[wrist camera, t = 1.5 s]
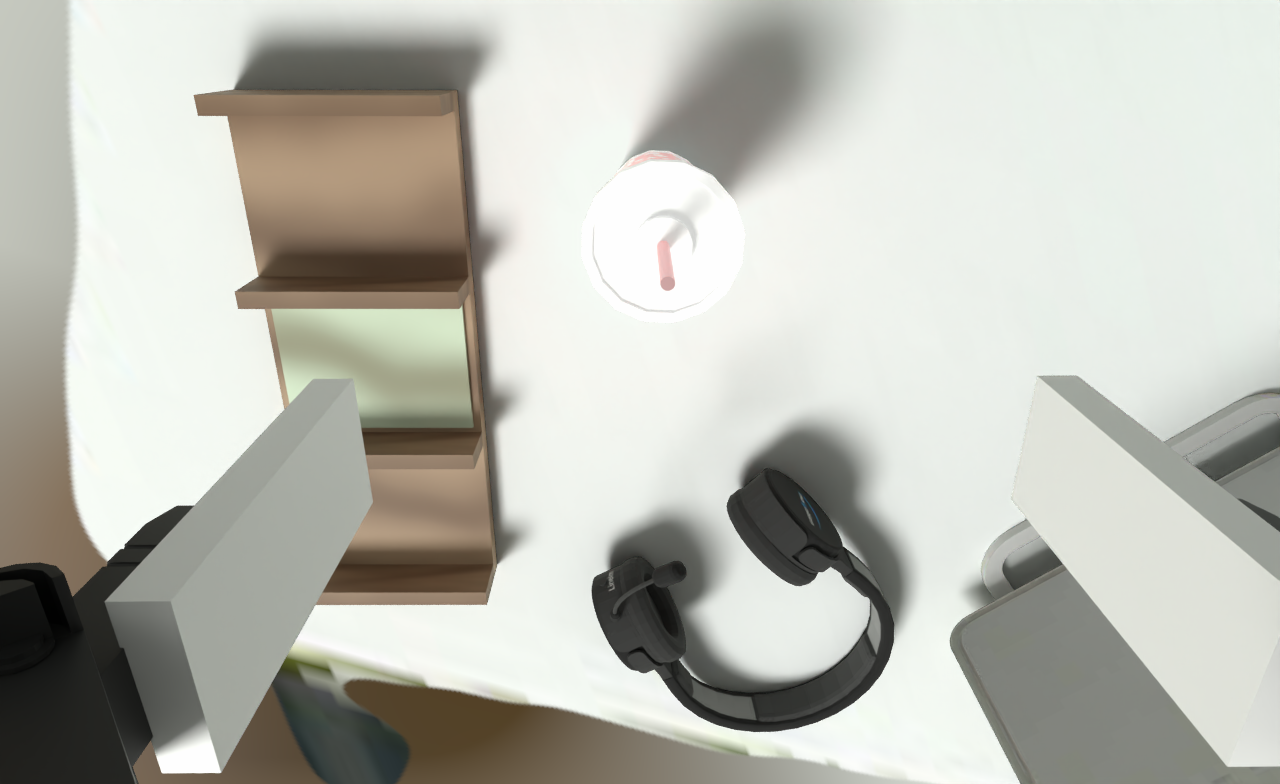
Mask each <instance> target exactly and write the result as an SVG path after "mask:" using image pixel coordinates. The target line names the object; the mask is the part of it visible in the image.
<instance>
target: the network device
mask: <svg viewBox="0 0 1280 784" xmlns="http://www.w3.org/2000/svg"><path fill="white" fill-rule="evenodd" d="M1266 413H1275V414H1277V415H1278V417H1279V419H1280V394H1275V393H1264V394H1256V395H1253V396H1249V397H1246V398H1243V399H1241V400H1239V401H1237V402H1235V403H1233V404H1231V405H1229V406H1227V407H1226V408H1224V409H1222V410H1220V411H1219V412H1217V413H1215V414H1213V415H1212V416H1210V417H1208V418H1206V419H1204V420H1203V421H1201V422H1199V423H1197V424H1196V425H1194V426H1192V427H1190V428H1188V429H1187V430H1185V431H1183V432H1181V433H1180V434H1178V435H1176V436H1174V437H1172V438H1171V439H1169V440H1167V441H1165V442H1164V443H1165V444H1166V445H1168V446H1169V447H1170V448H1171V449H1173V450H1174V451H1175V452H1177V453H1178V454H1179V455H1181V456H1182V457H1185V456H1186V455H1188V454H1190V453H1192V452H1194V451H1195V450H1197V449H1199V448H1201V447H1203V446H1204V445H1206V444H1208V443H1210V442H1212V441H1213V440H1215V439H1217V438H1219V437H1221V436H1222V435H1224V434H1226V433H1228V432H1230V431H1231V430H1233V429H1235V428H1237V427H1239V426H1240V425H1242V424H1244V423H1246V422H1248V421H1249V420H1251V419H1253V418H1255V417H1257V416H1259V415H1262V414H1266ZM1215 482H1216V483H1217V484H1218V485H1219V486H1221V487H1222V488H1223V489H1225V490H1226V491H1227V492H1228V493H1230V494H1231V495H1232V496H1234V497H1235V498H1236V499H1243V500H1245V501H1247V502H1249V503H1251V504H1253V505H1255V506H1257V507H1259V508H1262V509H1264V510H1266V511H1268V512H1270V513H1272V514H1274V515H1276V516H1278V517H1279V518H1280V446H1279V447H1278V448H1276V449H1274V450H1272V451H1270V452H1268V453H1266V454H1265V455H1263V456H1261V457H1259V458H1257V459H1255V460H1254V461H1252V462H1250V463H1248V464H1246V465H1244V466H1243V467H1241V468H1239V469H1237V470H1235V471H1233V472H1231V473H1230V474H1228V475H1226V476H1224V477H1222V478H1220V479H1219V480H1217V481H1215ZM1039 537H1041V536H1040V535H1039V534H1038V532H1037V531H1036V530H1035V529H1034V527H1033V526H1032V525H1031V524H1030V522H1029V521H1028V520H1025V521H1023V522H1022V523H1020V524H1018V525H1016V526H1015V527H1013V528H1011V529H1009V530H1008V531H1006V532H1005V533H1003V534H1002V535H1000V536H999V537H998V538H997V539H996V540H995V541H994V542H993V543H992V544H991V545H990V547H989V548H988V550H987V551H986V553H985V556H984V558H983V561H982V567H981V574H982V579H983V582H984V584H985V586H986V588H987V589H988V591H989V592H990V594H991V595H992V597H993V598H994V599H995V601H994V602H992V603H990V604H988V605H986V606H985V607H983V608H981V609H979V610H977V611H975V612H974V613H972V614H970V615H968V616H966V617H965V618H963V619H962V620H961V621H960V622H959V623H958V624H957V625H956V626H955V628H954V629H953V631H952V633H951V637H950V646H951V649H952V651H953V653H954V655H955V657H956V659H957V661H958V663H959V665H960V667H961V669H962V671H963V673H964V675H965V677H966V679H967V681H968V682H969V684H970V686H971V688H972V690H973V692H974V694H975V696H976V698H977V700H978V702H979V704H980V706H981V708H982V710H983V712H984V714H985V716H986V717H987V719H988V721H989V723H990V725H991V727H992V729H993V731H994V733H995V735H996V737H997V739H998V741H999V743H1000V745H1001V747H1002V749H1003V751H1004V752H1005V754H1006V756H1007V758H1008V760H1009V762H1010V764H1011V766H1012V768H1013V770H1014V772H1015V774H1016V776H1017V778H1018V780H1019V782H1020V784H1280V766H1267V767H1227V766H1226V765H1225V763H1224V762H1223V761H1222V760H1221V759H1220V757H1219V756H1218V755H1217V754H1216V752H1215V751H1214V750H1213V749H1212V747H1211V746H1210V745H1209V744H1208V742H1207V741H1206V740H1205V739H1204V737H1203V736H1202V735H1201V734H1200V733H1199V731H1198V730H1197V729H1196V728H1195V726H1194V725H1193V724H1192V723H1191V721H1190V720H1189V719H1188V718H1187V716H1186V715H1185V714H1184V713H1183V712H1182V710H1181V709H1180V708H1179V707H1178V705H1177V704H1176V703H1175V702H1174V700H1173V699H1172V698H1171V697H1170V695H1169V694H1168V693H1167V692H1166V691H1165V689H1164V688H1163V687H1162V686H1161V684H1160V683H1159V682H1158V681H1157V679H1156V678H1155V677H1154V676H1153V674H1152V673H1151V672H1150V671H1149V669H1148V668H1147V667H1146V666H1145V665H1144V663H1143V662H1142V661H1141V660H1140V658H1139V657H1138V656H1137V655H1136V653H1135V652H1134V651H1133V650H1132V648H1131V647H1130V646H1129V645H1128V644H1127V642H1126V641H1125V640H1124V639H1123V637H1122V636H1121V635H1120V634H1119V632H1118V631H1117V630H1116V629H1115V627H1114V626H1113V625H1112V624H1111V623H1110V621H1109V620H1108V619H1107V618H1106V616H1105V615H1104V614H1103V613H1102V611H1101V610H1100V609H1099V608H1098V606H1097V605H1096V604H1095V603H1094V602H1093V600H1092V599H1091V598H1090V597H1089V595H1088V594H1087V593H1086V592H1085V590H1084V589H1083V588H1082V587H1081V585H1080V584H1079V583H1078V582H1077V580H1076V579H1075V578H1074V577H1073V576H1072V574H1071V573H1070V572H1069V571H1068V569H1067V568H1066V567H1065V566H1064V564H1062V565H1060V566H1058V567H1056V568H1055V569H1053V570H1051V571H1049V572H1047V573H1045V574H1044V575H1042V576H1040V577H1038V578H1036V579H1034V580H1033V581H1031V582H1029V583H1027V584H1025V585H1023V586H1021V587H1020V588H1018V589H1016V590H1014V589H1013V588H1012V586H1011V585H1010V583H1009V582H1008V580H1007V579H1006V578H1005V576H1004V574H1003V571H1002V567H1003V563H1004V561H1005V559H1006V558H1007V557H1008V556H1009V555H1010V554H1011V553H1012V552H1014V551H1015V550H1017V549H1019V548H1021V547H1023V546H1024V545H1026V544H1028V543H1030V542H1032V541H1033V540H1035V539H1037V538H1039Z"/></svg>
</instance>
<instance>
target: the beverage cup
mask: <svg viewBox="0 0 1280 784" xmlns="http://www.w3.org/2000/svg"><path fill="white" fill-rule="evenodd" d="M744 240H745V230H744V227H743V224H742V221H741V218H740V215H739V211H738V208H737V205H736V202H735V200H734V199H733V198H732V197H731V196H730V194H729V193H728V192H727V191H726V190H725V189H724V188H723V186H722V185H721V184H720V183H719V182H718V181H717V179H716V178H715V177H714V176H713V175H712V174H710V173H708V172H706V171H704V170H702V169H700V168H698V167H696V166H693V165H692V164H691V163H690V162H689V161H688V160H687V159H685V158H683V157H681V156H679V155H676V154H674V153H672V152H670V151H656V150H649V151H647V152H644V153H641V154H639V155H636V156H633V157H631V158H630V159H629V160H628V161H627V162H626V163H625V164H624V165H623V166H622V167H621V168H620V169H619V170H618V171H617V172H616V174H615V176H614V177H613V178H612V179H611V180H610V181H609V182H607V183H606V184H605V185H604V186H603V187H602V188H601V189H600V190H599V191H598V192H597V193H596V195H595V197H594V199H593V202H592V204H591V206H590V208H589V211H588V213H587V215H586V218H585V220H584V222H583V225H582V260H583V262H584V265H585V267H586V270H587V272H588V275H589V277H590V280H591V282H592V285H593V287H594V288H595V289H596V290H597V291H598V292H599V293H600V294H601V295H602V296H603V297H604V298H605V299H606V300H607V301H608V302H609V303H610V304H611V305H612V306H613V307H614V309H616V310H618V311H620V312H623V313H625V314H627V315H630V316H632V317H634V318H636V319H639V320H641V321H643V322H668V323H675V322H678V321H681V320H684V319H687V318H689V317H692V316H695V315H698V314H701V313H704V312H705V311H706V310H707V309H708V308H710V307H711V306H712V305H713V304H714V303H715V302H717V301H718V300H719V299H720V298H721V297H722V296H724V295H725V294H726V293H727V292H728V290H729V288H730V287H731V285H732V283H733V281H734V279H735V277H736V275H737V273H738V271H739V269H740V267H741V266H742V261H743V250H744Z"/></svg>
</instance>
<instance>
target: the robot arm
mask: <svg viewBox="0 0 1280 784" xmlns="http://www.w3.org/2000/svg"><path fill="white" fill-rule="evenodd" d="M1011 500H1012V501H1013V503H1014V504H1015V505H1016V506H1017V508H1018V509H1019V510H1020V511H1021V512H1022V514H1023V515H1024V516H1025V517H1026V519H1027V520H1028V521H1029V522H1030V524H1031V525H1032V526H1033V527H1034V529H1035V530H1036V531H1037V532H1038V534H1039V535H1040V536H1041V537H1042V538H1043V540H1044V541H1045V542H1046V543H1047V545H1048V546H1049V547H1050V548H1051V550H1052V551H1053V552H1054V553H1055V555H1056V556H1057V557H1058V558H1059V559H1060V561H1061V562H1062V563H1063V564H1064V566H1065V567H1066V568H1067V569H1068V571H1069V572H1070V573H1071V574H1072V576H1073V577H1074V578H1075V579H1076V580H1077V582H1078V583H1079V584H1080V585H1081V587H1082V588H1083V589H1084V590H1085V592H1086V593H1087V594H1088V595H1089V597H1090V598H1091V599H1092V600H1093V602H1094V603H1095V604H1096V605H1097V606H1098V608H1099V609H1100V610H1101V611H1102V613H1103V614H1104V615H1105V616H1106V618H1107V619H1108V620H1109V621H1110V623H1111V624H1112V625H1113V626H1114V627H1115V629H1116V630H1117V631H1118V632H1119V634H1120V635H1121V636H1122V637H1123V639H1124V640H1125V641H1126V642H1127V644H1128V645H1129V646H1130V647H1131V648H1132V650H1133V651H1134V652H1135V653H1136V655H1137V656H1138V657H1139V658H1140V660H1141V661H1142V662H1143V663H1144V665H1145V666H1146V667H1147V668H1148V669H1149V671H1150V672H1151V673H1152V674H1153V676H1154V677H1155V678H1156V679H1157V681H1158V682H1159V683H1160V684H1161V686H1162V687H1163V688H1164V689H1165V691H1166V692H1167V693H1168V694H1169V695H1170V697H1171V698H1172V699H1173V700H1174V702H1175V703H1176V704H1177V705H1178V707H1179V708H1180V709H1181V710H1182V712H1183V713H1184V714H1185V715H1186V716H1187V718H1188V719H1189V720H1190V721H1191V723H1192V724H1193V725H1194V726H1195V728H1196V729H1197V730H1198V731H1199V733H1200V734H1201V735H1202V736H1203V737H1204V739H1205V740H1206V741H1207V742H1208V744H1209V745H1210V746H1211V747H1212V749H1213V750H1214V751H1215V752H1216V754H1217V755H1218V756H1219V757H1220V759H1221V760H1222V761H1223V762H1224V763H1225V765H1226V766H1227V767H1267V766H1280V518H1279V517H1278V516H1276V515H1274V514H1272V513H1270V512H1268V511H1266V510H1264V509H1262V508H1259V507H1257V506H1255V505H1253V504H1251V503H1249V502H1247V501H1245V500H1243V499H1236V498H1235V497H1234V496H1232V495H1231V494H1230V493H1228V492H1227V491H1226V490H1225V489H1223V488H1222V487H1221V486H1219V485H1218V484H1217V483H1216V482H1214V481H1213V480H1212V479H1210V478H1209V477H1208V476H1206V475H1205V474H1204V473H1203V472H1201V471H1200V470H1199V469H1197V468H1196V467H1195V466H1193V465H1192V464H1191V463H1190V462H1188V461H1187V460H1186V459H1184V458H1183V457H1182V456H1181V455H1179V454H1178V453H1177V452H1175V451H1174V450H1173V449H1171V448H1170V447H1169V446H1168V445H1166V444H1165V443H1164V442H1162V441H1161V440H1160V439H1158V438H1157V437H1156V436H1155V435H1153V434H1152V433H1151V432H1149V431H1148V430H1147V429H1145V428H1144V427H1143V426H1142V425H1140V424H1139V423H1138V422H1136V421H1135V420H1134V419H1133V418H1131V417H1130V416H1129V415H1127V414H1126V413H1125V412H1123V411H1122V410H1121V409H1120V408H1118V407H1117V406H1116V405H1114V404H1113V403H1112V402H1110V401H1109V400H1108V399H1107V398H1105V397H1104V396H1103V395H1101V394H1100V393H1099V392H1098V391H1096V390H1095V389H1094V388H1092V387H1091V386H1090V385H1088V384H1087V383H1086V382H1085V381H1083V380H1082V379H1081V378H1079V377H1078V376H1037V379H1036V384H1035V389H1034V393H1033V398H1032V403H1031V407H1030V412H1029V417H1028V421H1027V426H1026V431H1025V435H1024V440H1023V445H1022V449H1021V454H1020V459H1019V463H1018V468H1017V473H1016V477H1015V482H1014V487H1013V491H1012V496H1011ZM372 503H373V499H372V493H371V487H370V480H369V474H368V468H367V461H366V455H365V449H364V443H363V436H362V430H361V424H360V417H359V411H358V405H357V399H356V392H355V386H354V380H353V379H313V380H312V381H311V382H310V383H309V384H308V385H307V386H306V387H305V388H304V389H303V390H302V391H301V392H300V394H299V395H298V396H297V397H296V398H295V399H294V400H293V401H292V402H291V403H290V404H289V405H288V406H287V407H286V408H285V410H284V411H283V412H282V413H281V414H280V415H279V416H278V417H277V418H276V419H275V420H274V421H273V422H272V423H271V424H270V426H269V427H268V428H267V429H266V430H265V431H264V432H263V433H262V434H261V435H260V436H259V437H258V438H257V439H256V441H255V442H254V443H253V444H252V445H251V446H250V447H249V448H248V449H247V450H246V451H245V452H244V453H243V454H242V455H241V457H240V458H239V459H238V460H237V461H236V462H235V463H234V464H233V465H232V466H231V467H230V468H229V469H228V470H227V471H226V473H225V474H224V475H223V476H222V477H221V478H220V479H219V480H218V481H217V482H216V483H215V484H214V485H213V486H212V487H211V489H210V490H209V491H208V492H207V493H206V494H205V495H204V496H203V497H202V498H201V499H200V500H199V501H198V502H197V503H196V505H195V506H176V507H174V508H172V509H171V510H169V511H167V512H165V513H164V514H162V515H160V516H159V517H157V518H155V519H153V520H152V521H150V522H148V523H147V524H145V525H144V526H143V527H142V528H141V529H140V530H139V531H138V532H137V533H136V534H135V535H134V536H133V537H132V538H131V539H130V540H129V541H128V542H127V543H126V544H125V548H124V549H120V550H119V551H118V552H117V553H116V554H115V555H114V556H113V557H112V558H111V559H110V560H109V561H108V562H107V567H102V568H101V569H100V570H99V571H98V572H97V573H96V574H95V575H94V576H93V577H92V578H91V579H90V580H89V581H88V582H87V583H86V584H85V585H84V586H83V587H82V588H81V589H80V590H79V591H78V592H77V593H76V594H75V595H74V596H73V597H72V595H71V592H70V589H69V586H68V583H67V581H66V578H65V575H64V574H63V572H62V571H61V570H59V568H57V566H54V565H49V564H44V563H28V564H27V563H26V564H15V565H11V566H7V567H3V568H0V784H138V781H137V778H136V775H135V772H134V770H133V765H134V764H135V762H136V761H137V759H138V758H139V756H140V755H141V754H142V752H143V750H144V749H145V748H146V746H147V745H148V743H149V742H150V740H151V742H152V745H153V747H154V751H155V754H156V757H157V760H158V762H159V766H160V769H161V771H162V773H221V772H222V770H223V768H224V767H225V765H226V763H227V761H228V759H229V758H230V756H231V754H232V752H233V751H234V749H235V747H236V745H237V744H238V742H239V740H240V738H241V736H242V735H243V733H244V731H245V729H246V727H247V726H248V724H249V722H250V720H251V719H252V717H253V715H254V713H255V711H256V710H257V708H258V706H259V704H260V703H261V701H262V699H263V697H264V695H265V694H266V692H267V690H268V688H269V687H270V685H271V683H272V681H273V679H274V678H275V676H276V674H277V672H278V671H279V669H280V667H281V665H282V663H283V662H284V660H285V658H286V656H287V654H288V653H289V651H290V649H291V647H292V646H293V644H294V642H295V640H296V638H297V637H298V635H299V633H300V631H301V630H302V628H303V626H304V624H305V622H306V621H307V619H308V617H309V615H310V614H311V612H312V610H313V608H314V606H315V605H316V603H317V601H318V599H319V598H320V596H321V594H322V592H323V590H324V589H325V587H326V585H327V583H328V581H329V580H330V578H331V576H332V574H333V573H334V571H335V569H336V567H337V565H338V564H339V562H340V560H341V558H342V557H343V555H344V553H345V551H346V549H347V548H348V546H349V544H350V542H351V541H352V539H353V537H354V535H355V533H356V532H357V530H358V528H359V526H360V525H361V523H362V521H363V519H364V517H365V516H366V514H367V512H368V510H369V508H370V507H371V505H372Z"/></svg>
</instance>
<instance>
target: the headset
mask: <svg viewBox="0 0 1280 784" xmlns="http://www.w3.org/2000/svg"><path fill="white" fill-rule="evenodd" d="M727 511H728V514H729V517H730V520H731V521H732V523H733V525H734V527H735V529H736V531H737V532H738V534H739V536H740V537H741V539H742V540H743V541H744V543H745V544H746V545H747V547H748V548H749V549H750V550H751V551H752V552H753V554H754V555H755V556H756V557H757V558H758V559H759V560H760V561H761V562H762V563H763V564H764V565H765V566H766V567H768V568H769V569H770V570H771V571H772V572H773V573H775V574H776V575H777V576H779V577H780V578H781V579H783V580H785V581H786V582H788V583H790V584H792V585H795V586H802V585H806V584H809V583H810V582H811V581H813V580H814V579H815V578H816V576H817V574H818V572H824V571H825V570H827V569H828V568H829V567H832V568H834V569H835V570H837V571H838V572H840V573H841V575H842V577H843V578H844V580H845V581H846V582H848V583H849V584H850V585H851V586H853V587H854V588H855V589H856V590H857V591H858V592H859V593H860V594H861V595H863V596H864V597H868V598H869V599H870V617H869V621H868V624H867V628H866V630H865V632H864V633H863V635H862V637H861V638H860V640H859V642H858V644H857V645H856V647H855V648H854V649H853V650H852V651H851V653H850V654H849V655H848V656H847V657H846V658H845V659H844V660H843V661H842V662H840V663H839V664H838V665H837V666H836V667H835V668H833V669H832V670H830V671H829V672H827V673H826V674H824V675H822V676H821V677H819V678H817V679H815V680H813V681H811V682H808V683H806V684H804V685H801V686H798V687H795V688H791V689H787V690H782V691H775V692H769V693H739V692H730V691H726V690H722V689H718V688H714V687H712V686H709V685H707V684H705V683H702V682H700V681H698V680H697V679H696V678H694V677H693V676H691V675H690V673H689V672H688V671H687V669H686V668H685V667H684V666H683V665H682V663H681V662H680V661H679V659H680V658H681V657H682V656H683V655H684V653H685V651H686V640H685V633H684V628H683V625H682V621H681V618H680V616H679V613H678V610H677V608H676V606H675V603H674V601H673V599H672V597H671V595H670V593H669V591H668V589H667V586H669V585H672V584H675V583H678V582H680V581H682V580H683V579H684V578H685V577H686V568H685V566H684V565H683V563H681V562H680V561H673V562H671V563H668V564H666V565H663V566H661V567H658V568H656V569H654V568H653V567H652V566H651V565H650V563H649V562H647V561H646V560H645V559H644V558H642V557H632V558H630V559H628V560H626V561H625V562H624V563H623V564H622V565H620V566H617V567H615V568H613V569H610V570H608V571H606V572H604V573H602V574H599V575H597V576H596V577H595V578H594V580H593V584H592V599H593V604H594V609H595V612H596V615H597V618H598V621H599V623H600V626H601V628H602V630H603V632H604V634H605V636H606V638H607V640H608V642H609V644H610V646H611V647H612V649H613V650H614V652H615V653H616V655H617V656H618V657H619V659H620V660H621V661H622V662H623V663H624V664H625V665H626V666H627V667H628V668H630V669H631V670H635V671H639V672H641V673H647V672H649V671H652V670H654V669H655V671H656V672H657V673H658V674H659V675H660V676H661V678H662V680H663V681H664V682H665V684H666V685H667V687H668V688H669V689H670V691H671V692H672V693H673V695H674V696H675V697H676V698H677V699H678V700H679V701H680V702H681V703H682V705H683V706H685V707H686V708H687V709H689V710H690V711H692V712H693V713H694V714H696V715H697V716H699V717H701V718H703V719H705V720H707V721H709V722H711V723H714V724H716V725H719V726H723V727H727V728H730V729H734V730H742V731H751V732H774V731H782V730H788V729H795V728H799V727H802V726H806V725H809V724H813V723H816V722H819V721H821V720H823V719H825V718H828V717H830V716H832V715H834V714H837V713H838V712H840V711H841V710H843V709H845V708H846V707H848V706H849V705H851V704H852V703H854V702H855V701H856V700H857V699H859V698H860V697H861V696H862V695H863V694H864V693H866V692H867V691H868V690H869V689H870V688H871V686H872V685H873V684H874V683H875V681H876V680H877V679H878V678H879V677H880V675H881V674H882V672H883V670H884V668H885V666H886V664H887V662H888V660H889V658H890V654H891V650H892V646H893V643H894V623H893V619H892V615H891V611H890V608H889V606H888V604H887V602H886V600H885V598H884V595H883V593H882V591H881V589H880V587H879V585H878V583H877V581H876V580H875V578H874V576H873V575H872V573H871V571H870V570H869V569H868V568H867V567H866V566H865V565H864V564H863V563H862V562H861V561H860V560H859V559H858V558H857V557H856V556H855V555H853V554H852V553H851V552H850V551H848V550H847V549H846V548H844V547H843V546H842V541H841V538H840V536H839V534H838V532H837V530H836V528H835V527H834V525H833V524H832V522H831V521H830V519H829V518H828V517H827V515H826V514H825V513H824V512H823V510H822V509H821V508H820V507H819V506H818V504H817V503H816V502H815V501H814V500H813V499H812V498H811V497H810V496H809V495H808V494H807V493H806V492H805V491H804V490H803V489H802V488H801V487H800V486H799V485H798V484H796V483H795V482H794V481H793V480H791V479H790V478H789V477H787V476H786V475H784V474H782V473H781V472H779V471H776V470H772V469H765V470H764V471H763V472H762V473H760V474H759V475H758V476H757V477H756V478H754V479H753V480H752V481H751V482H750V483H749V484H747V485H746V486H745V487H744V488H742V489H739V490H737V491H736V492H735V493H734V494H733V495H731V496H730V498H729V500H728V502H727Z"/></svg>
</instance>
